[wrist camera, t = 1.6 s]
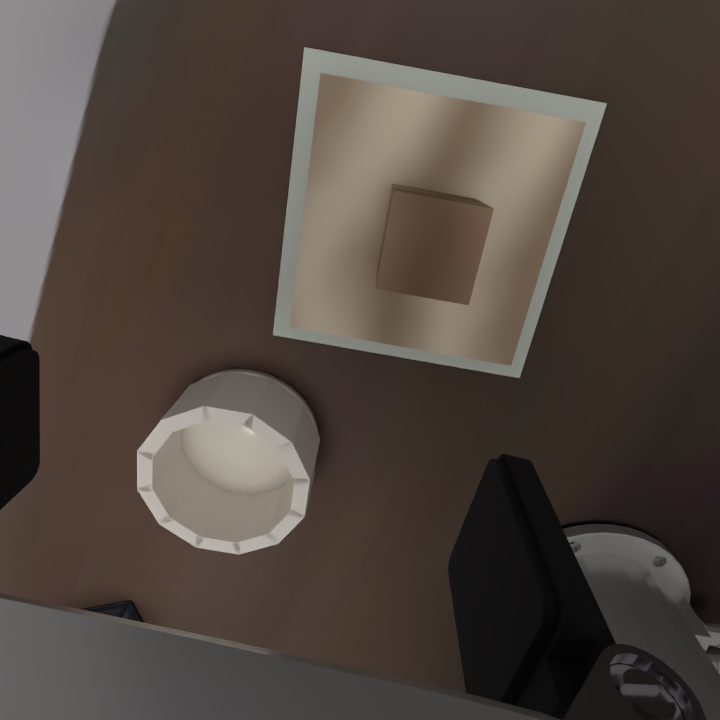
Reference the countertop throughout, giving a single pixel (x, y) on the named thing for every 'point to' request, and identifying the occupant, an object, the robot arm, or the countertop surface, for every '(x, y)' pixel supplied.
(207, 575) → the countertop surface
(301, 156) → the mat
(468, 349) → the lid
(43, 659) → the robot arm
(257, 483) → the bowl
